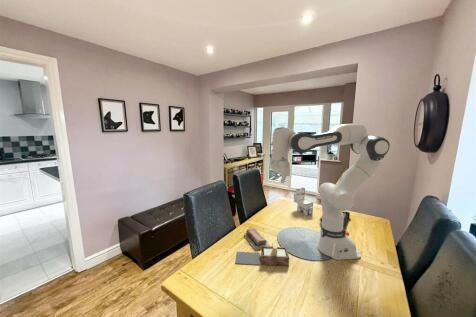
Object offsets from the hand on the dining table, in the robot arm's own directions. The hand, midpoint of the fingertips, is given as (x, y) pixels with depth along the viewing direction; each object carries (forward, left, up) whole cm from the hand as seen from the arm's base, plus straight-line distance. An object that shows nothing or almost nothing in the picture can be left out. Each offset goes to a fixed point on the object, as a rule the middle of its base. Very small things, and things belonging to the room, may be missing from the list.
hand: (279, 180), depth 111 cm
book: (-49, -41, -43) cm, 77 cm away
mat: (+17, +10, -42) cm, 46 cm away
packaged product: (+12, -8, -43) cm, 45 cm away
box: (+2, +10, -42) cm, 43 cm away
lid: (+2, +10, -38) cm, 40 cm away
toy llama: (-29, -55, -42) cm, 75 cm away
